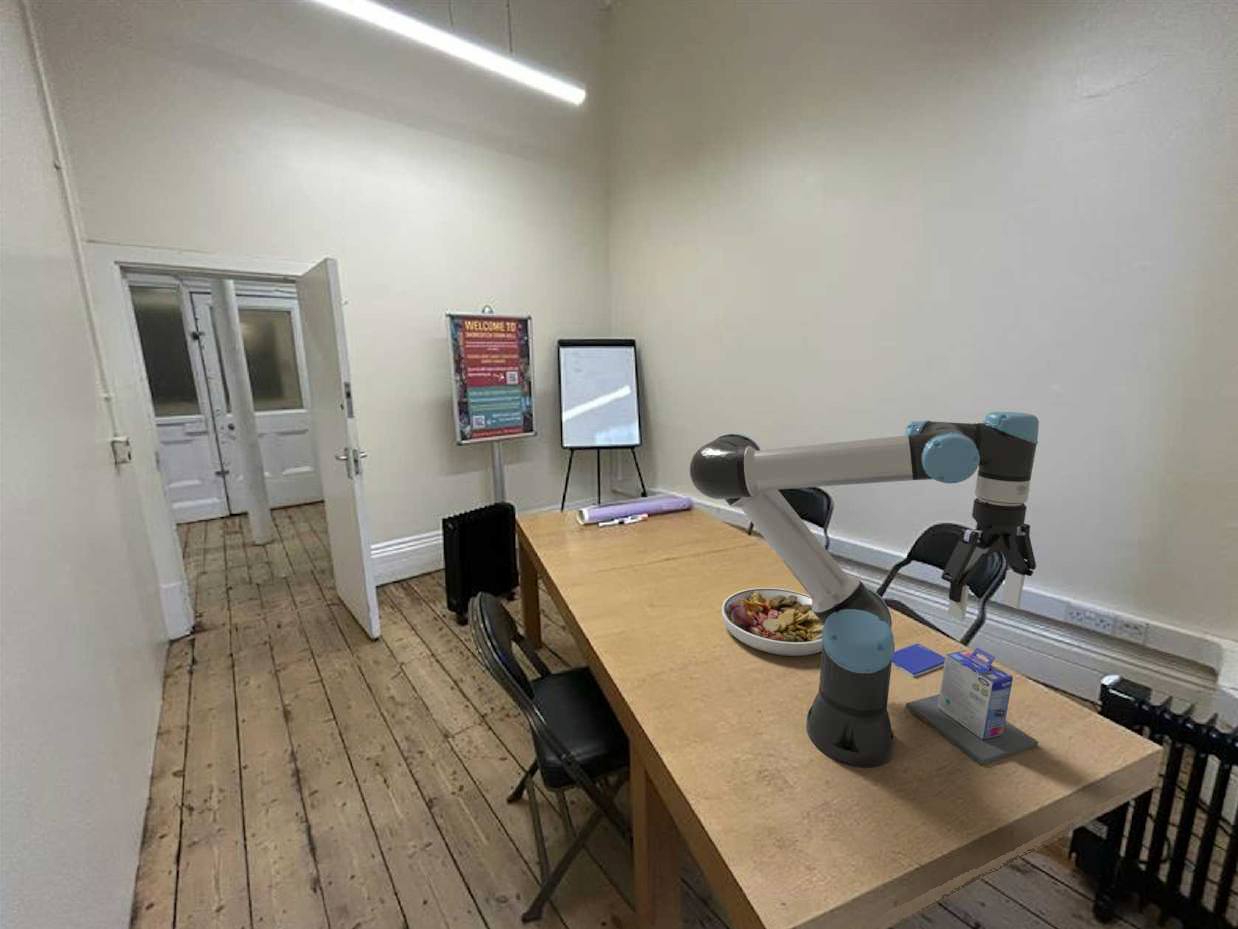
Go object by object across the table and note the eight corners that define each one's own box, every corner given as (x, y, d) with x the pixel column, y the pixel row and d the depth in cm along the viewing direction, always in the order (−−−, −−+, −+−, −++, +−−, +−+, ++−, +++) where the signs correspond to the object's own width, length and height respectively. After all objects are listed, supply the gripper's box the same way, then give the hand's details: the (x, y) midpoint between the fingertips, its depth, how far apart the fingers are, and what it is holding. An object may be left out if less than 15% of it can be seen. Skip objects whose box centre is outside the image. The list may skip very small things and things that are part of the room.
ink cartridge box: (1005, 735, 96) (1017, 665, 93) (984, 742, 94) (995, 671, 91) (956, 702, 105) (965, 638, 102) (936, 708, 103) (944, 643, 100)
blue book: (917, 642, 127) (881, 655, 122) (949, 659, 119) (913, 673, 114) (916, 648, 127) (881, 660, 122) (949, 665, 120) (913, 679, 115)
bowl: (791, 596, 154) (793, 572, 153) (867, 649, 126) (869, 620, 125) (701, 613, 145) (702, 587, 144) (761, 673, 117) (763, 642, 116)
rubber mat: (980, 765, 90) (981, 760, 90) (905, 707, 105) (906, 703, 105) (1037, 746, 94) (1038, 741, 94) (957, 693, 109) (957, 689, 109)
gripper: (967, 513, 83) (951, 632, 87) (1072, 499, 90) (1053, 609, 95) (927, 501, 90) (914, 612, 94) (1028, 489, 97) (1011, 592, 102)
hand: (983, 611), depth 95 cm, fingers open, 13 cm apart
